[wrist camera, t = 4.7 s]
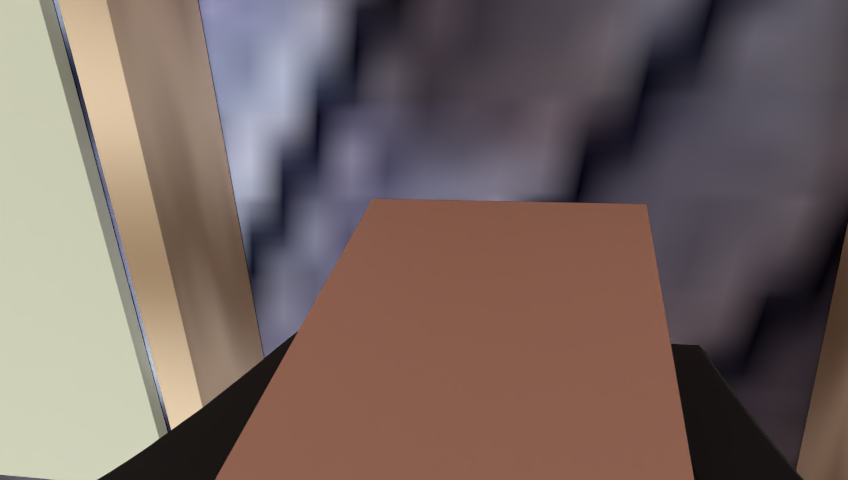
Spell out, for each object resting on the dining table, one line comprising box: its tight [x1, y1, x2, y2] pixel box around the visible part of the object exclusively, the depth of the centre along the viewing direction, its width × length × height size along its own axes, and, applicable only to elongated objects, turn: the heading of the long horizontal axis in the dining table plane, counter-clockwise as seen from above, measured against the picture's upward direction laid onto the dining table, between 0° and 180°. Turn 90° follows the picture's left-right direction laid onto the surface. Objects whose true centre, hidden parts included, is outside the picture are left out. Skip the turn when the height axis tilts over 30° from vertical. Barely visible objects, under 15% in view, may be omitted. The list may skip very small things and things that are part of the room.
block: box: [215, 199, 694, 480], centre depth 9 cm, size 4×4×7 cm
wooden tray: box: [58, 0, 848, 480], centre depth 14 cm, size 18×14×3 cm
